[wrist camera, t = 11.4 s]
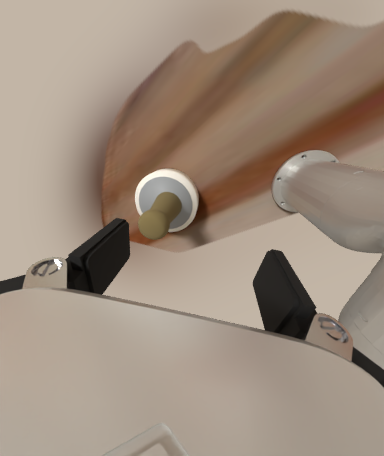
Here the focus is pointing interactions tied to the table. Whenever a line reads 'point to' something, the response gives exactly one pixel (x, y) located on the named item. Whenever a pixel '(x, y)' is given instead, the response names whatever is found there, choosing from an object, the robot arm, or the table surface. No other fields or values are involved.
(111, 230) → the robot arm
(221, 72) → the table surface
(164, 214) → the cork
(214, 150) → the table surface
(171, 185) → the podium
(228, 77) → the table surface
